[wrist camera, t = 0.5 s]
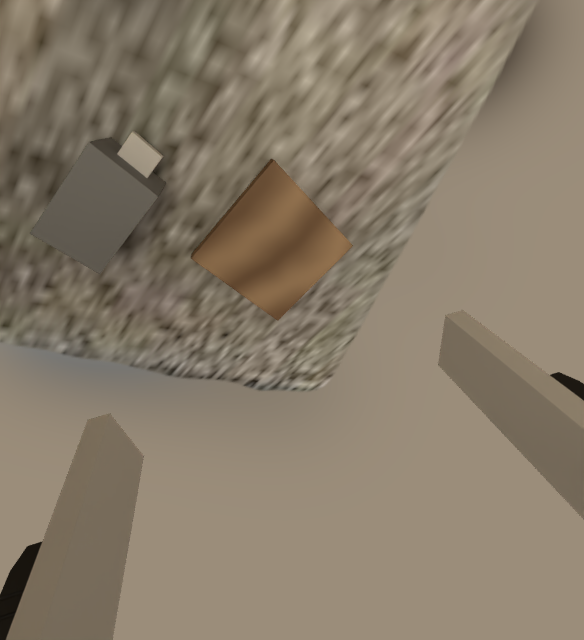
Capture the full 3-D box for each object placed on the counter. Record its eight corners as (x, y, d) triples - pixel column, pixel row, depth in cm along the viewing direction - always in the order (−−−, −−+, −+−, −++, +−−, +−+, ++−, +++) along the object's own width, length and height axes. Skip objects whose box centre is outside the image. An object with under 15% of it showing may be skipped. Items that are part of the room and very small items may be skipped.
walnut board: (191, 254, 32) (191, 258, 31) (271, 158, 29) (273, 160, 28) (275, 315, 38) (277, 320, 37) (348, 242, 35) (352, 245, 34)
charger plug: (61, 212, 27) (29, 233, 22) (125, 116, 25) (105, 116, 20) (116, 248, 30) (99, 274, 25) (179, 164, 27) (174, 174, 23)
